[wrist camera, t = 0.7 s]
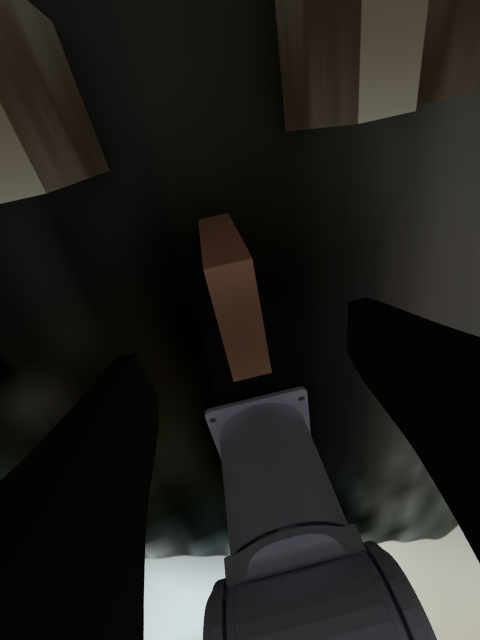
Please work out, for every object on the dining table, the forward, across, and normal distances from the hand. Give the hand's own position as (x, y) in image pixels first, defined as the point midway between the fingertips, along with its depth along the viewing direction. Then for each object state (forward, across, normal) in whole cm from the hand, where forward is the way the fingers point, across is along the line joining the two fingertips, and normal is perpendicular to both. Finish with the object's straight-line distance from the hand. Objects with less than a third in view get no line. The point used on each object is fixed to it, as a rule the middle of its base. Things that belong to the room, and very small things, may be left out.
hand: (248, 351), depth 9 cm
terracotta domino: (+8, 0, 0) cm, 8 cm away
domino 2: (+8, -5, -8) cm, 13 cm away
